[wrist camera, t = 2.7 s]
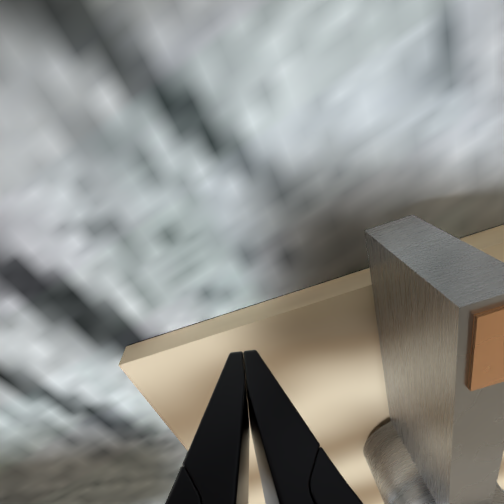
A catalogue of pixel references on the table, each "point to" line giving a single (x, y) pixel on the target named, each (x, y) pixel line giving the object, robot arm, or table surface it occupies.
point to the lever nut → (437, 366)
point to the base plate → (289, 367)
